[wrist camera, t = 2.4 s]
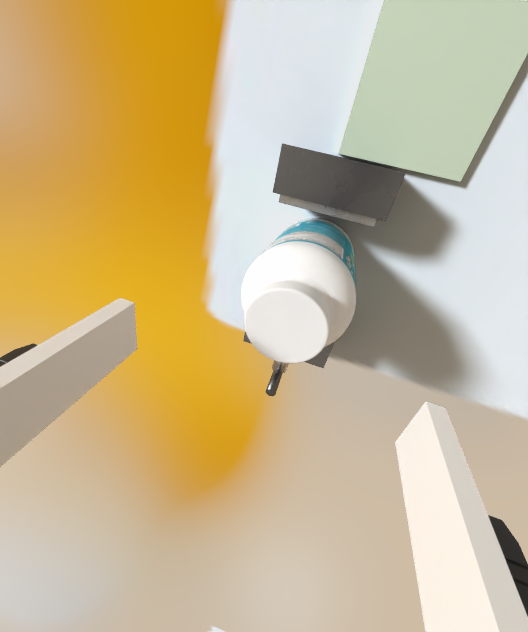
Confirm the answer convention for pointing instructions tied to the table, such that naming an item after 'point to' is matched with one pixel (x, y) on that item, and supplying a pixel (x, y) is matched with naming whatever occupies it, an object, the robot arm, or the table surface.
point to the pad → (435, 82)
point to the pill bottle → (300, 291)
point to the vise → (332, 201)
